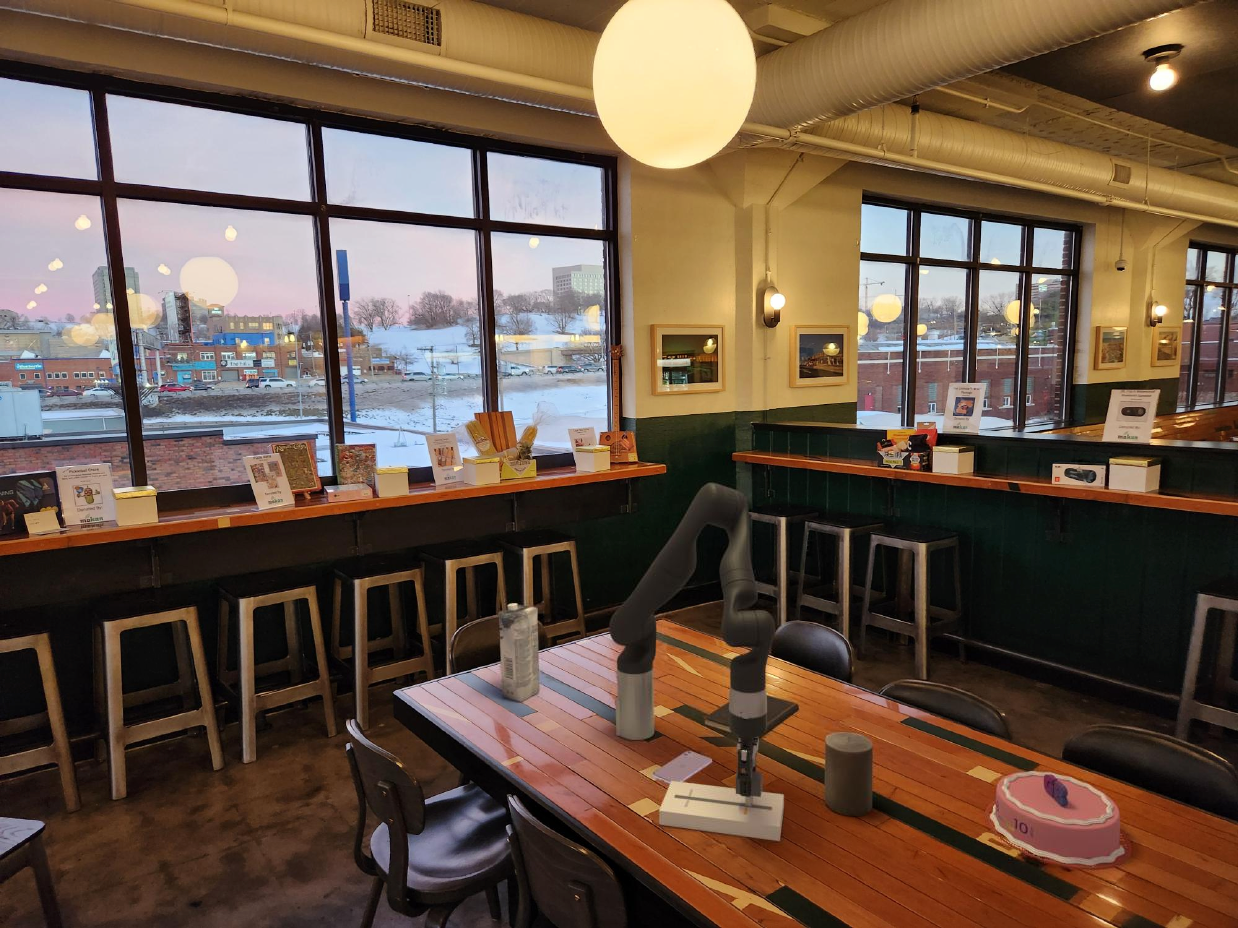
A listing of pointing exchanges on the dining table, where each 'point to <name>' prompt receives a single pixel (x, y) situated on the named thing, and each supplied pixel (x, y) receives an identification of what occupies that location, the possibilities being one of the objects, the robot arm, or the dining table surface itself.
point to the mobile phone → (682, 767)
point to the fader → (755, 787)
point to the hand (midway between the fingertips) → (748, 784)
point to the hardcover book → (775, 714)
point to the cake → (1059, 820)
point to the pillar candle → (848, 773)
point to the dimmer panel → (722, 811)
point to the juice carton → (519, 652)
